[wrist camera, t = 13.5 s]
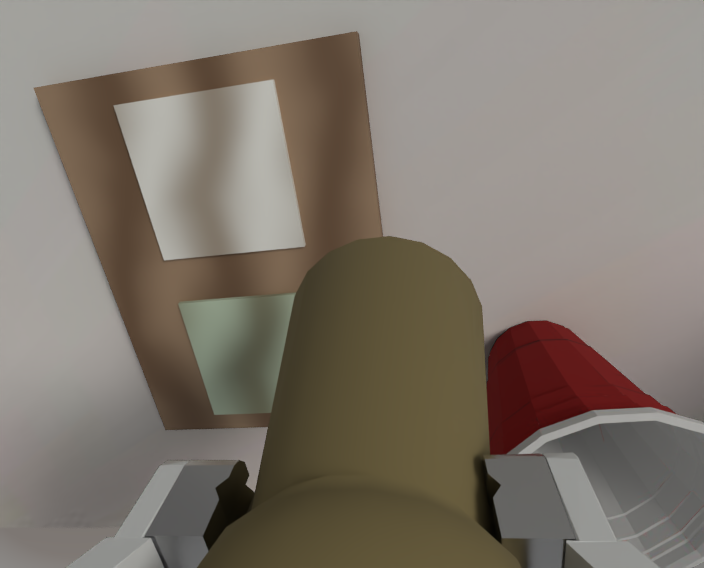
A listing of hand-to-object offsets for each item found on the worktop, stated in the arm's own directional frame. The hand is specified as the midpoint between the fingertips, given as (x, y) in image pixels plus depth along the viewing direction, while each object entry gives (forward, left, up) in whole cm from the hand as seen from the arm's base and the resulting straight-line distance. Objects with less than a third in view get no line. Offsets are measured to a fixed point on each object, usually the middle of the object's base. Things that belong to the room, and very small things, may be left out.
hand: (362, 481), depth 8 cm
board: (+10, +3, -20) cm, 22 cm away
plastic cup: (-8, +11, -20) cm, 24 cm away
